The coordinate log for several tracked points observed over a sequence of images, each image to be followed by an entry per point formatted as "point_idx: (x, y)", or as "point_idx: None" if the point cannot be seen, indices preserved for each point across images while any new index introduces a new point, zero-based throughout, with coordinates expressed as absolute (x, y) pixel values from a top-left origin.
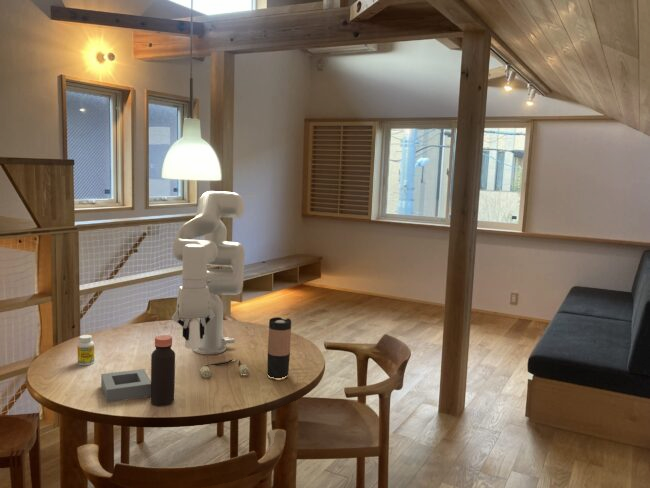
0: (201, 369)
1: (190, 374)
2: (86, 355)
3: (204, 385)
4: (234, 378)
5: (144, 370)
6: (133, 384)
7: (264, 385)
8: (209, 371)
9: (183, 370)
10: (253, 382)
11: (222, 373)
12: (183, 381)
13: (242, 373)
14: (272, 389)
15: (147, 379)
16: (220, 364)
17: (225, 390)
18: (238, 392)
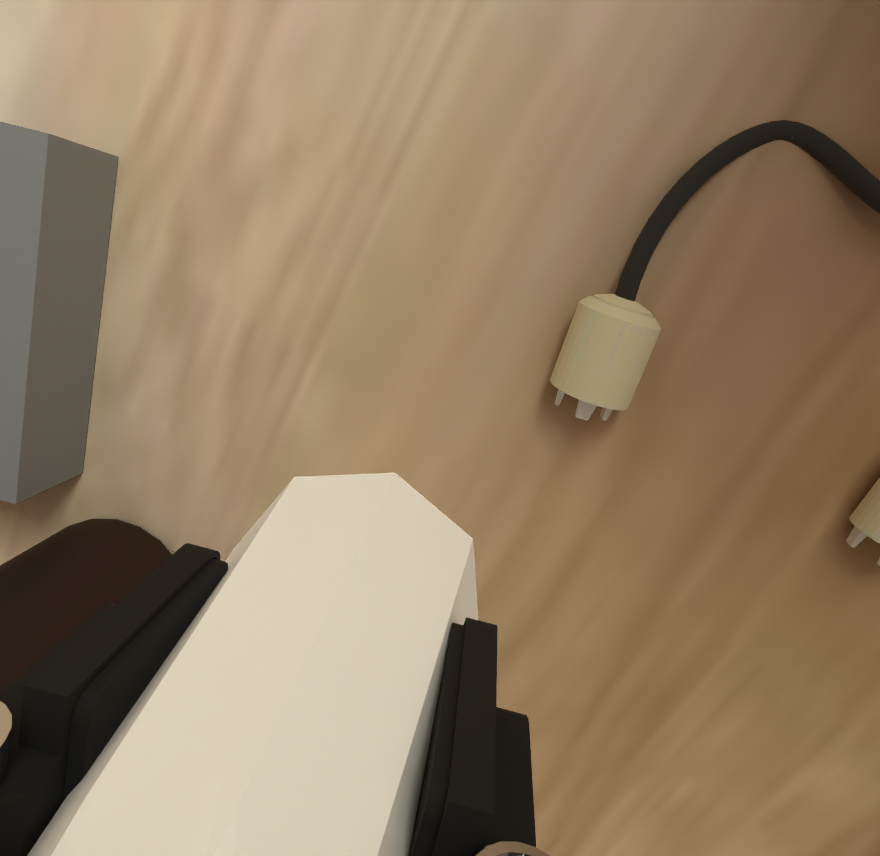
0: (581, 330)
1: (509, 248)
2: None
3: (484, 517)
4: (762, 533)
5: (39, 179)
6: None
7: (853, 763)
8: (618, 406)
9: (505, 118)
10: (828, 677)
11: (752, 386)
12: (386, 356)
13: (864, 537)
14: (846, 841)
15: (6, 402)
16: (870, 206)
17: (562, 674)
18: (617, 749)
